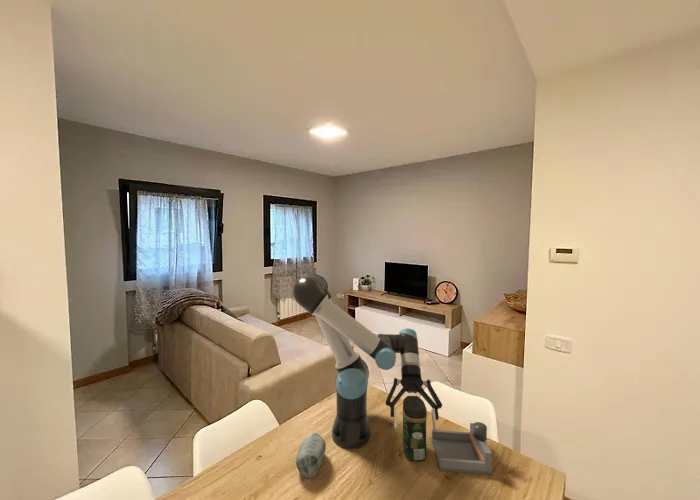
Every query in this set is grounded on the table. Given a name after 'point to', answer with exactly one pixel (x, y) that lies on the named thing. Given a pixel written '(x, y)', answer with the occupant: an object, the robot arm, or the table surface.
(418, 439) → the coffee jar
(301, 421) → the table surface
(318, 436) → the spool
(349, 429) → the robot arm
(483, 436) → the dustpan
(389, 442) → the table surface
